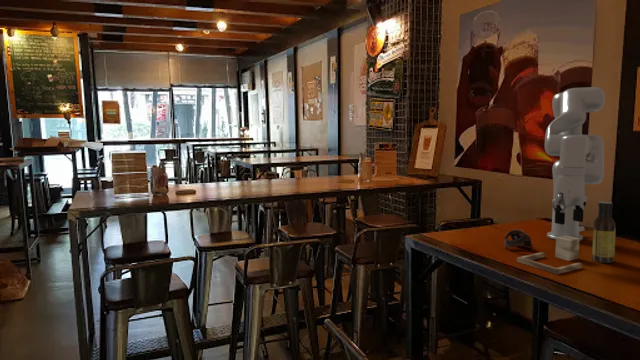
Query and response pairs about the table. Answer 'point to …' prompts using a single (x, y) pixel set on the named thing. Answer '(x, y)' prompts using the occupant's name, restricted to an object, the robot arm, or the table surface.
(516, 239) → the broken clay pot rim
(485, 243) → the table surface
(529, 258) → the oak bay
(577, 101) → the robot arm
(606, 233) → the sauce bottle
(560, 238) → the birch block
